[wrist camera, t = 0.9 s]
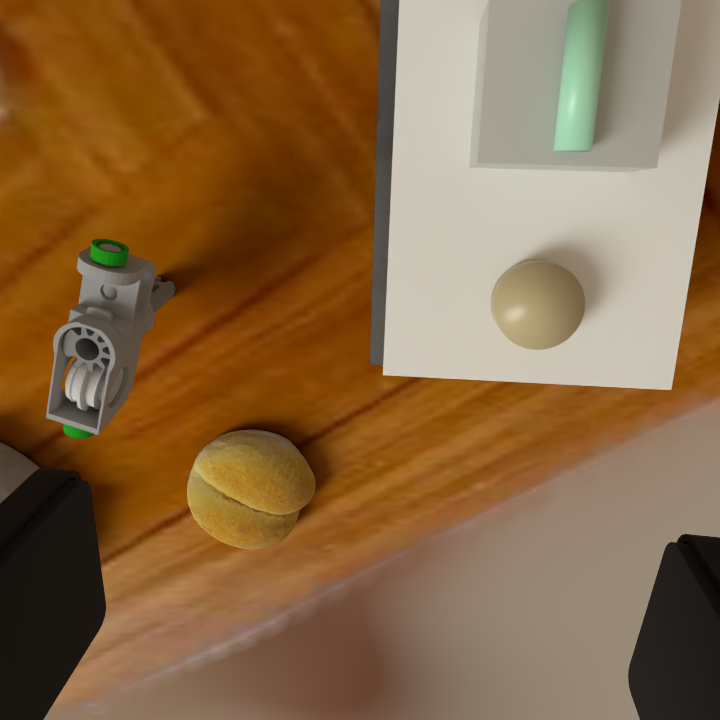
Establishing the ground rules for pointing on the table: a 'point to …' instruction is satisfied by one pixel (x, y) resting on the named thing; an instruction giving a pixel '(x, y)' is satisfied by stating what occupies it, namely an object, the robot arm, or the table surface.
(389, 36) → the dark grey rectangular slab
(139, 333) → the mechanical component
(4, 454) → the dish
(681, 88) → the levelling plate
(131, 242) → the table surface
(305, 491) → the bread roll
